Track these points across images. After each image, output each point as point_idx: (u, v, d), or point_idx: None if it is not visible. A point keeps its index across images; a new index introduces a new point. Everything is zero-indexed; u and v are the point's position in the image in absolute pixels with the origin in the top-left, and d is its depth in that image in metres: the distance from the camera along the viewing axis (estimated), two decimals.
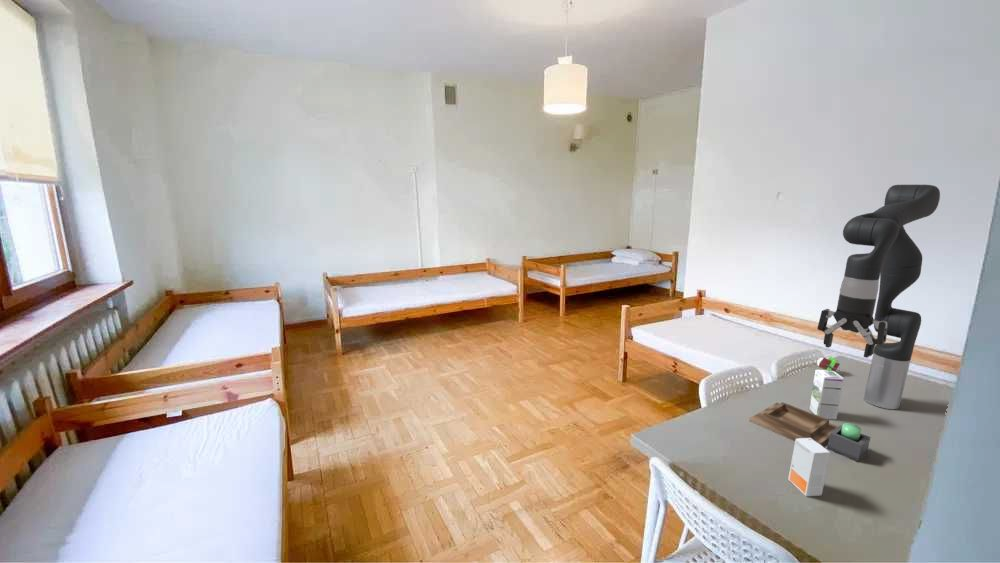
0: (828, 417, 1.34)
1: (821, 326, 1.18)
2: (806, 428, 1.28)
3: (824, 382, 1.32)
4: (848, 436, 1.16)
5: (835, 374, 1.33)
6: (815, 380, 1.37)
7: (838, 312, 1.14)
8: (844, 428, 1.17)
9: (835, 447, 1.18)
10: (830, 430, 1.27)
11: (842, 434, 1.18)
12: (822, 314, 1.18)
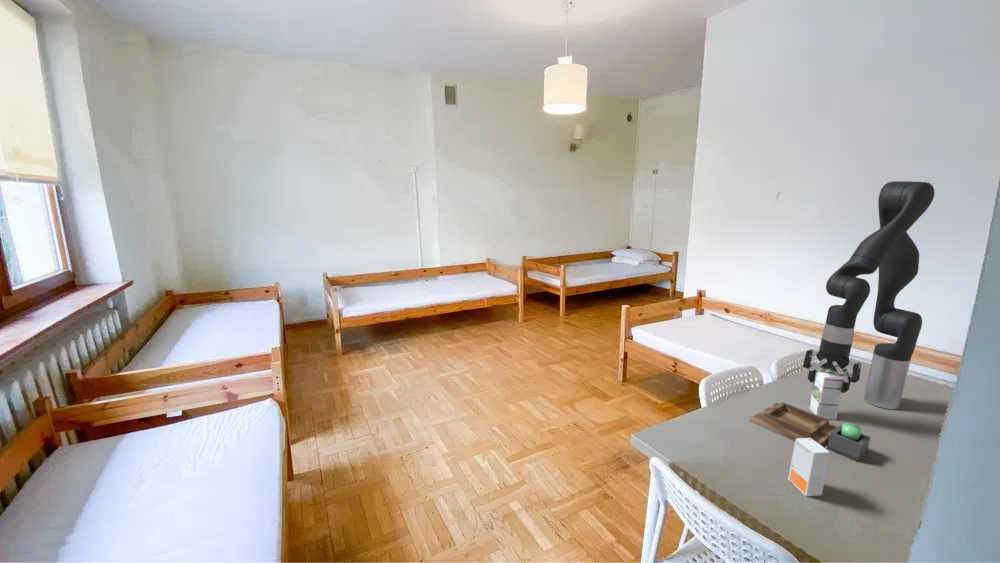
0: (828, 417, 1.34)
1: (806, 364, 1.38)
2: (806, 428, 1.28)
3: (824, 382, 1.32)
4: (848, 436, 1.16)
5: (835, 374, 1.33)
6: (815, 380, 1.37)
7: (820, 353, 1.35)
8: (844, 428, 1.17)
9: (835, 447, 1.18)
10: (830, 430, 1.27)
11: (842, 434, 1.18)
12: (807, 354, 1.38)
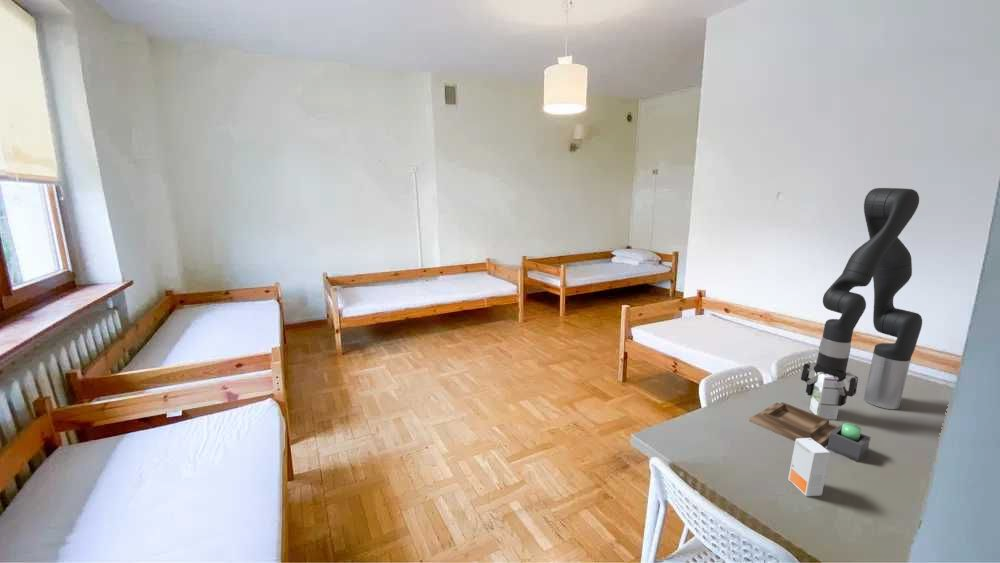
0: (828, 417, 1.34)
1: (804, 377, 1.39)
2: (806, 428, 1.28)
3: (824, 382, 1.32)
4: (848, 436, 1.16)
5: None
6: None
7: (817, 366, 1.36)
8: (844, 428, 1.17)
9: (835, 447, 1.18)
10: (830, 430, 1.27)
11: (842, 434, 1.18)
12: (804, 367, 1.39)
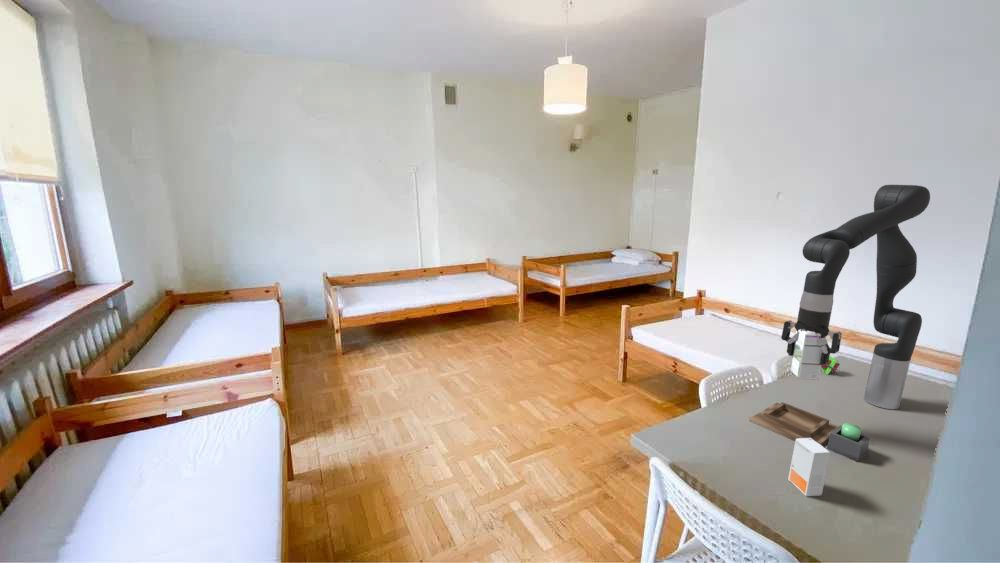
0: (810, 378, 1.24)
1: (784, 336, 1.29)
2: (806, 428, 1.28)
3: (805, 339, 1.22)
4: (848, 436, 1.16)
5: None
6: None
7: (798, 323, 1.26)
8: (844, 428, 1.17)
9: (835, 447, 1.18)
10: (830, 430, 1.27)
11: (842, 434, 1.18)
12: (785, 325, 1.29)
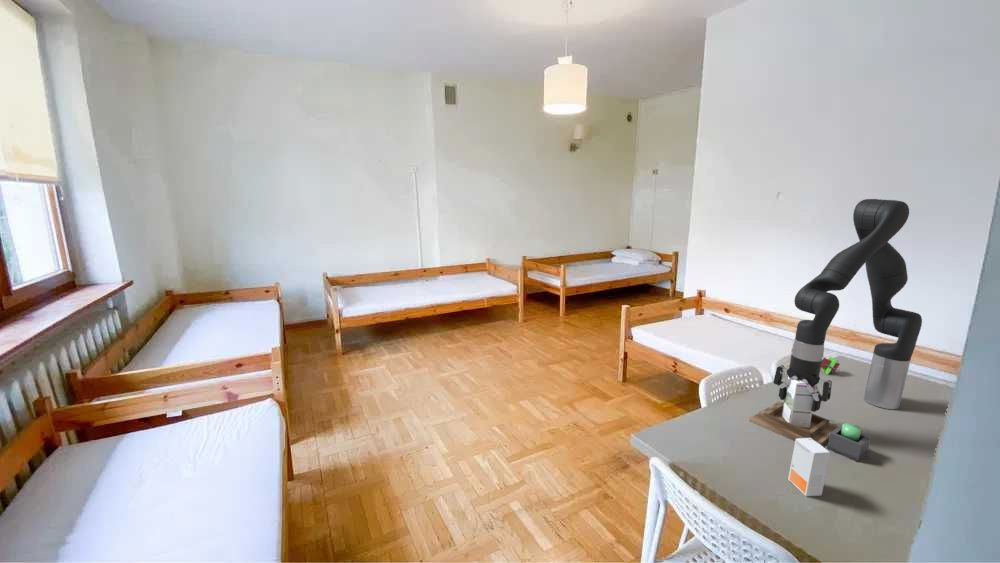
0: (801, 425, 1.28)
1: (776, 381, 1.32)
2: (806, 428, 1.28)
3: (796, 388, 1.26)
4: (848, 436, 1.16)
5: None
6: (788, 386, 1.30)
7: (790, 370, 1.29)
8: (844, 428, 1.17)
9: (835, 447, 1.18)
10: (830, 430, 1.27)
11: (842, 434, 1.18)
12: (777, 370, 1.32)
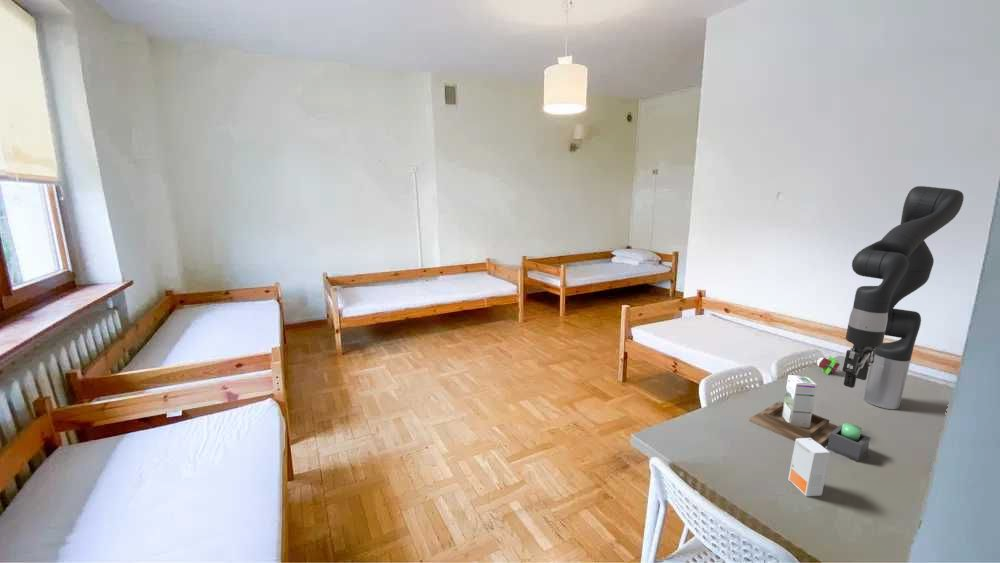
0: (801, 425, 1.28)
1: None
2: (806, 428, 1.28)
3: (796, 388, 1.26)
4: (848, 436, 1.16)
5: (808, 380, 1.27)
6: (788, 386, 1.30)
7: None
8: (844, 428, 1.17)
9: (835, 447, 1.18)
10: (830, 430, 1.27)
11: (842, 434, 1.18)
12: None
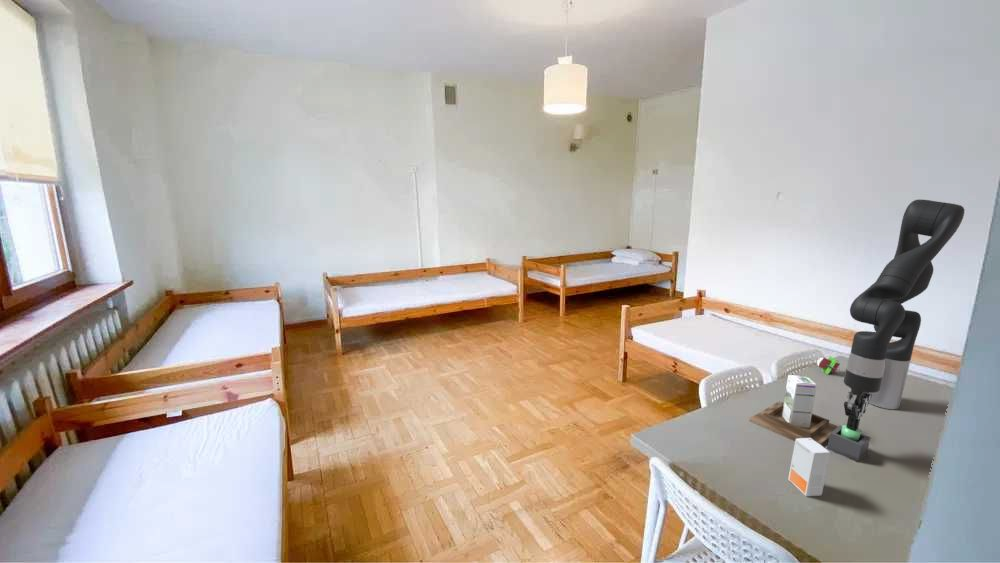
0: (801, 425, 1.28)
1: None
2: (806, 428, 1.28)
3: (796, 388, 1.26)
4: (848, 438, 1.16)
5: (808, 380, 1.27)
6: (788, 386, 1.30)
7: None
8: (844, 430, 1.17)
9: (835, 447, 1.18)
10: (830, 430, 1.27)
11: None
12: None
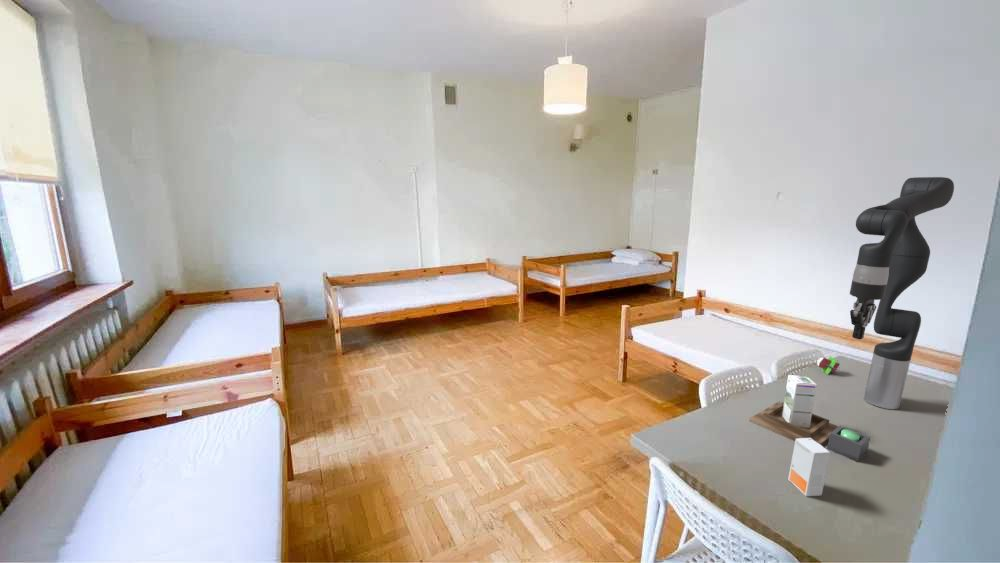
0: (801, 425, 1.28)
1: None
2: (806, 428, 1.28)
3: (796, 388, 1.26)
4: None
5: (808, 380, 1.27)
6: (788, 386, 1.30)
7: None
8: (843, 434, 1.17)
9: (835, 447, 1.18)
10: (830, 430, 1.27)
11: None
12: None
